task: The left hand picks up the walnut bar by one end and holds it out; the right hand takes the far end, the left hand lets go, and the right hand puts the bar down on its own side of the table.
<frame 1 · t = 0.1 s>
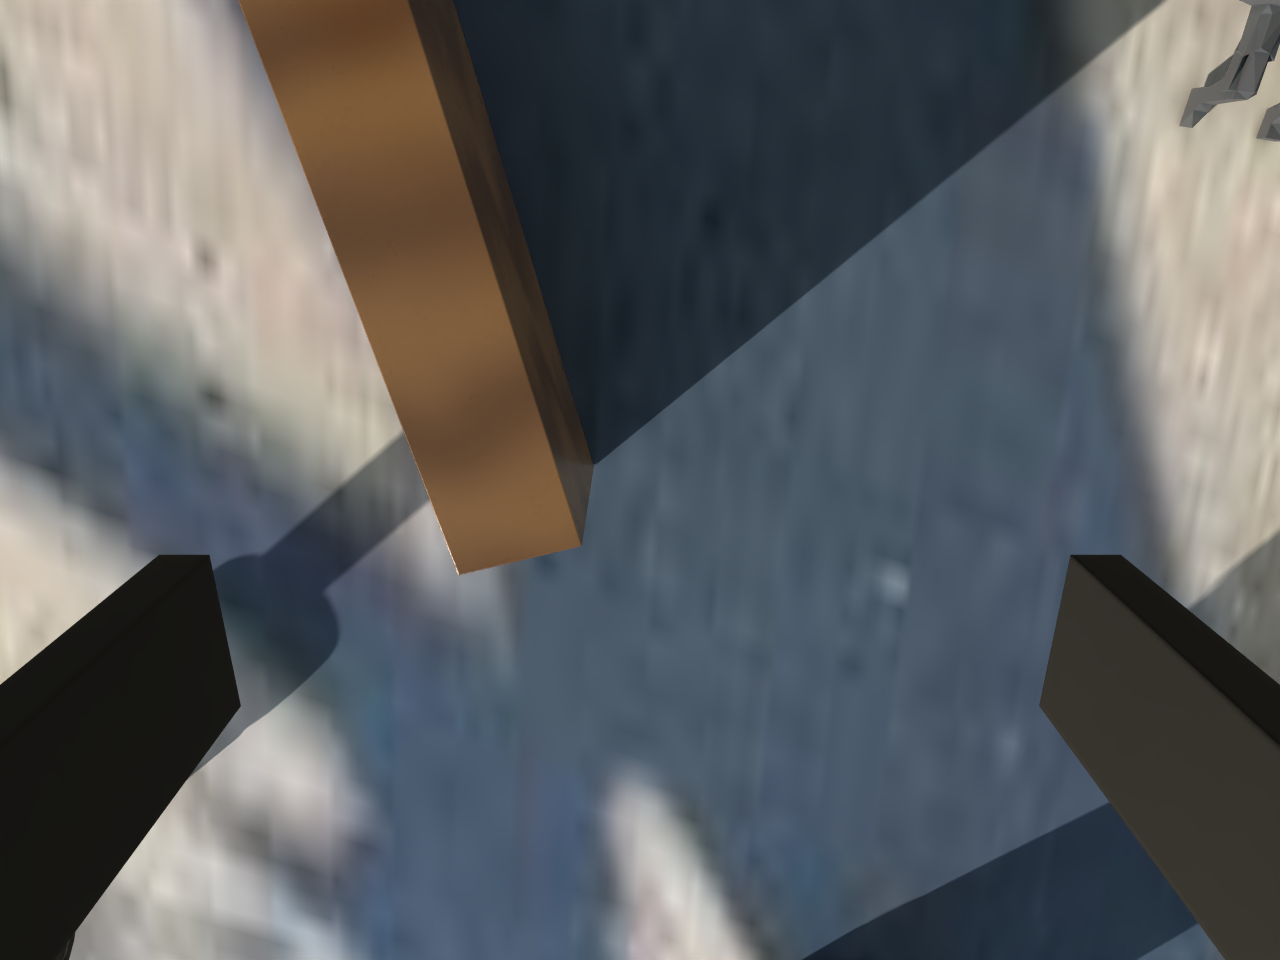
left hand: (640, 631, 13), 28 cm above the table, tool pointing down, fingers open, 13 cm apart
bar: (460, 222, 37), on the table
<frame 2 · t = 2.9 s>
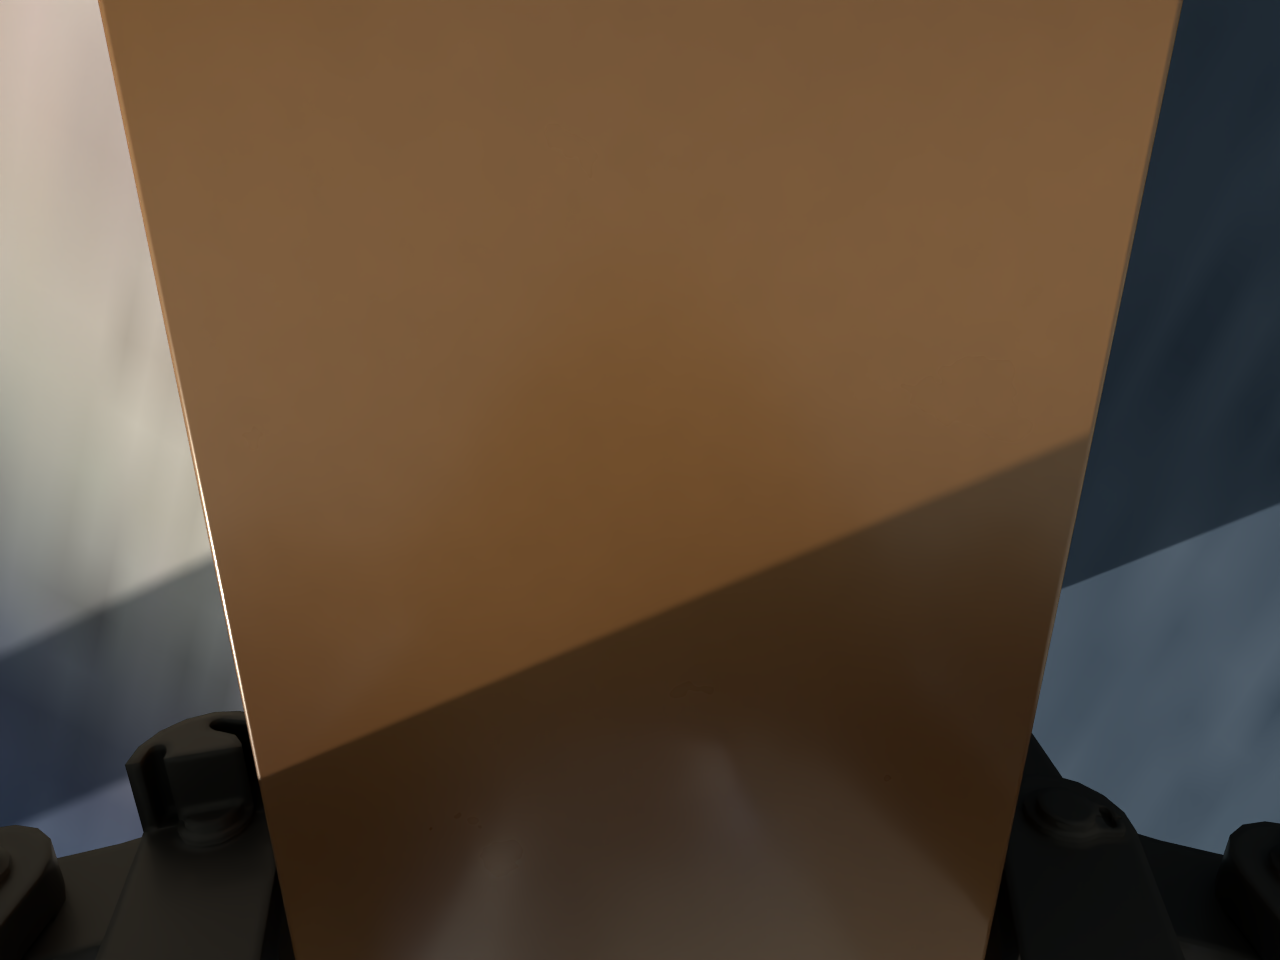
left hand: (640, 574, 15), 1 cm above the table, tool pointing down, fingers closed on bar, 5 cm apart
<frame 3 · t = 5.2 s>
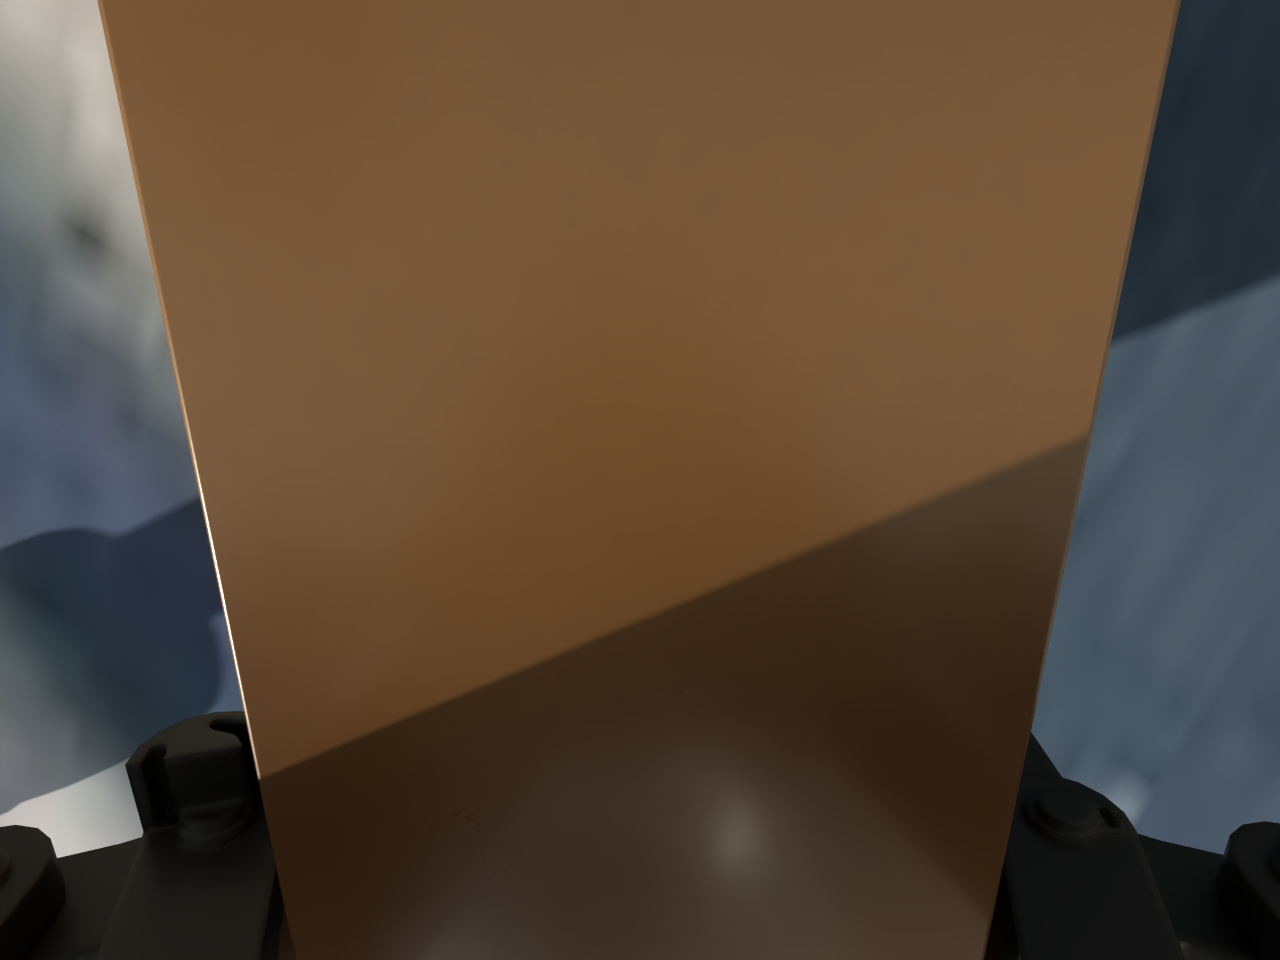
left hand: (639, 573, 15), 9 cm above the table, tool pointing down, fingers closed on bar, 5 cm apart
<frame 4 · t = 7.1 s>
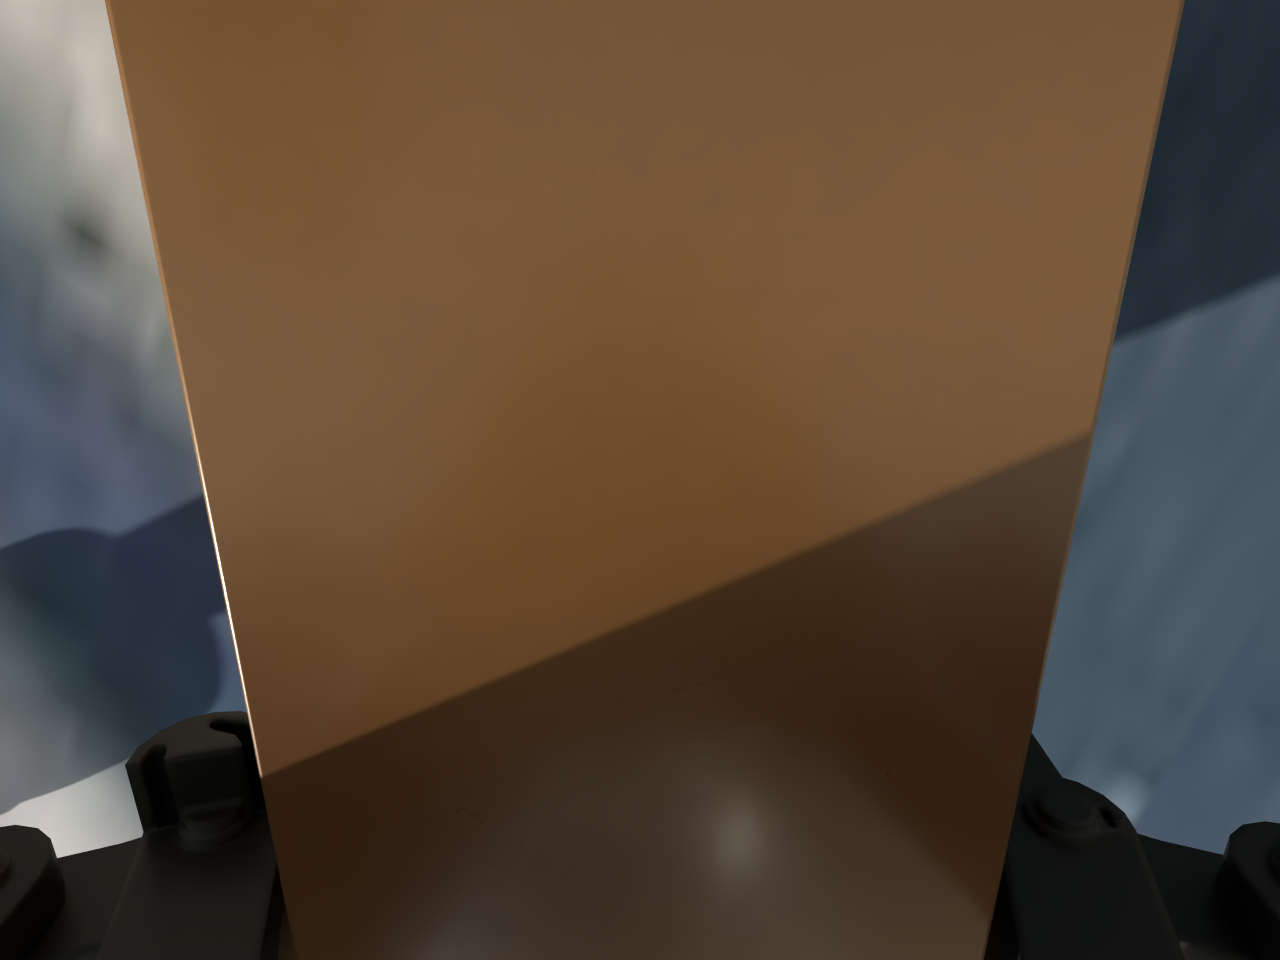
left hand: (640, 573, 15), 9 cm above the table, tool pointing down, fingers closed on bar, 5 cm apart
when the left hand's fingers open (9 cm above the table, at t = 7.7 s): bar stays where it is, held by the right hand.
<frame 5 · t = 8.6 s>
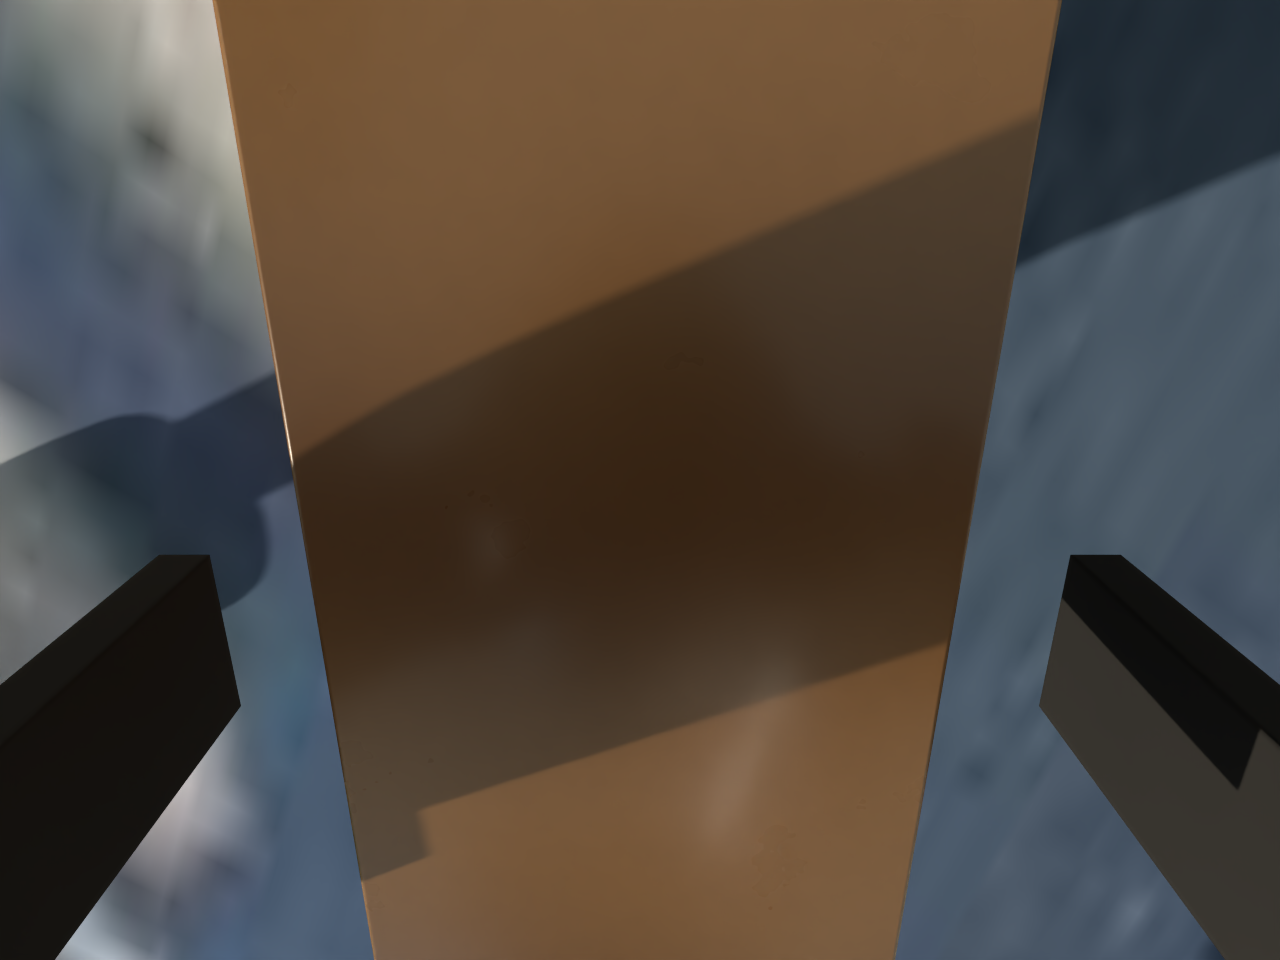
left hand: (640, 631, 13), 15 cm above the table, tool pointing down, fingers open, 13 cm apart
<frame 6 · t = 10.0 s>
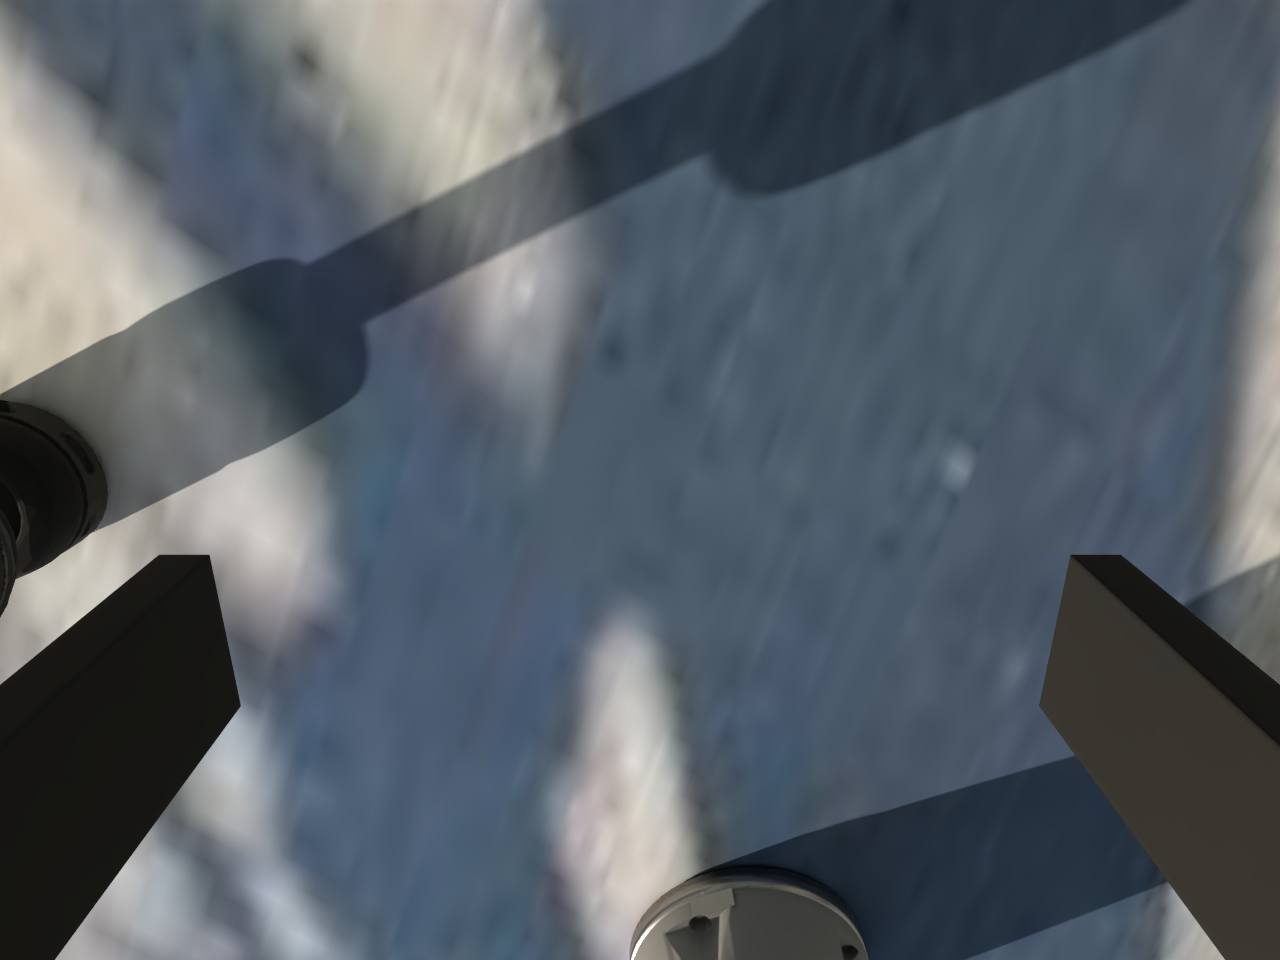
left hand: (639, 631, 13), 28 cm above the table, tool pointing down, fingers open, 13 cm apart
when the right hand's fingers open (2 cm above the table, at t = 13.1 s): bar drops 2 cm, on the table.
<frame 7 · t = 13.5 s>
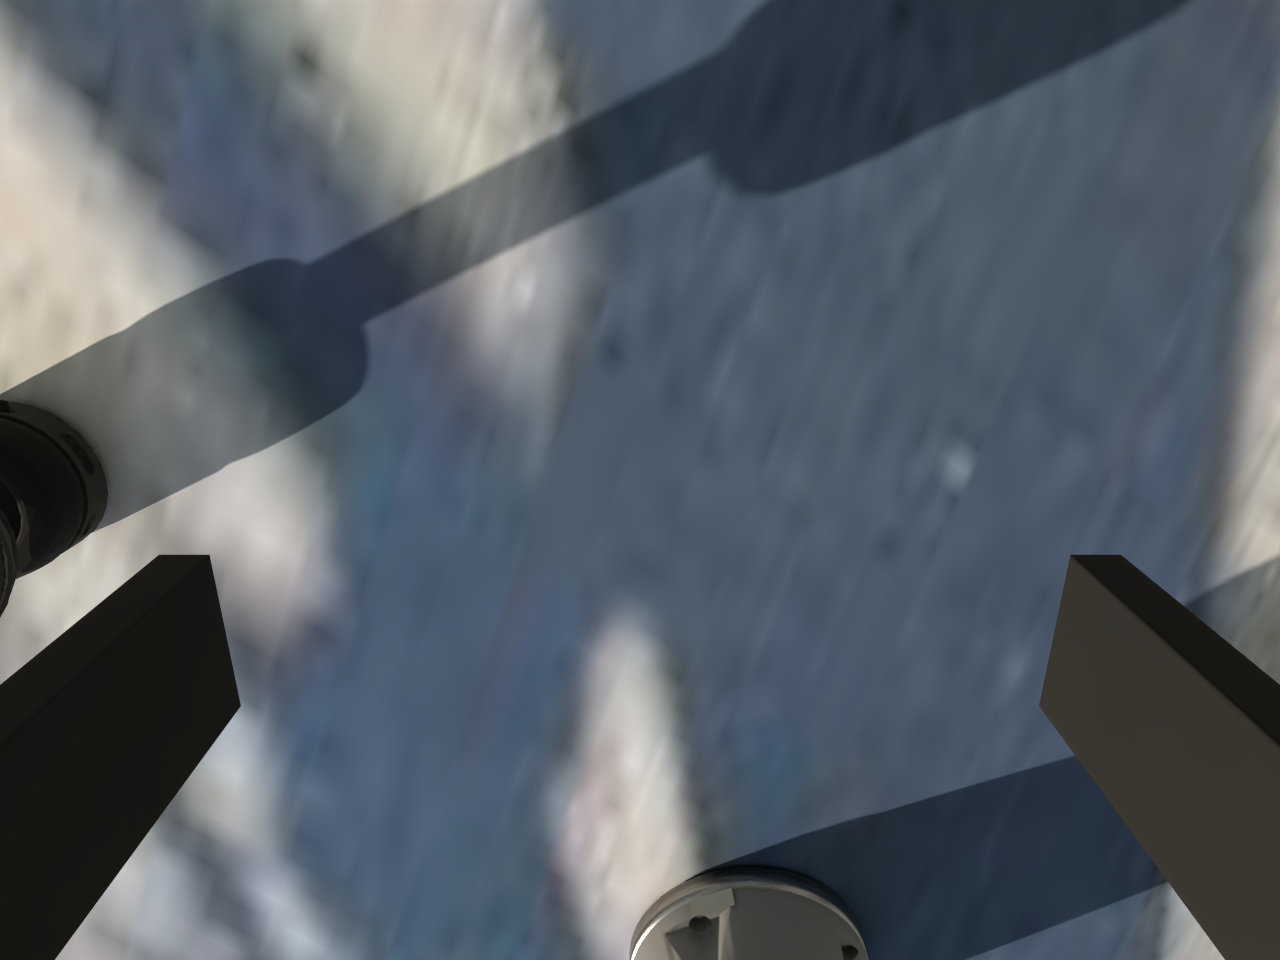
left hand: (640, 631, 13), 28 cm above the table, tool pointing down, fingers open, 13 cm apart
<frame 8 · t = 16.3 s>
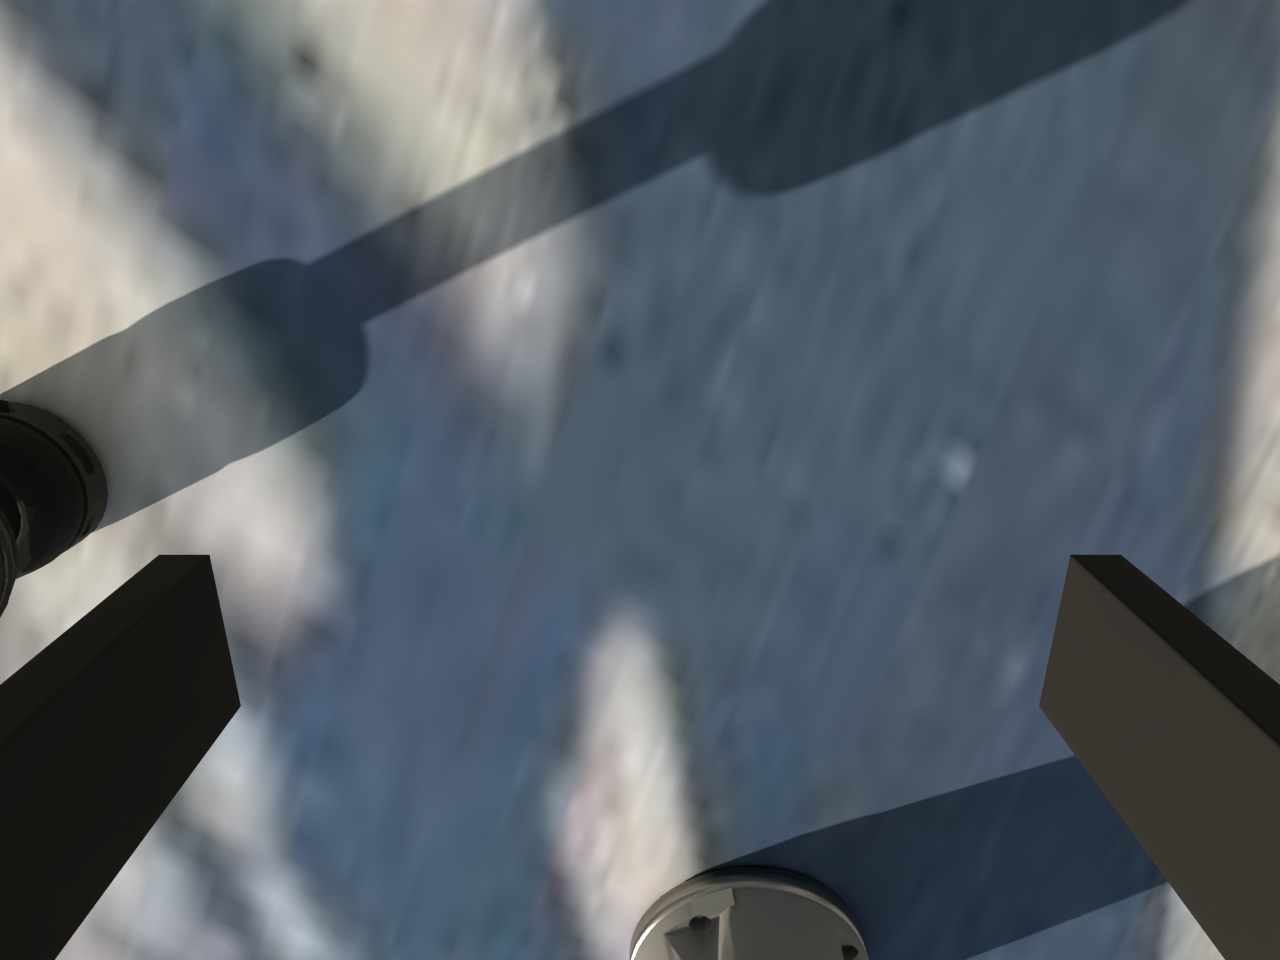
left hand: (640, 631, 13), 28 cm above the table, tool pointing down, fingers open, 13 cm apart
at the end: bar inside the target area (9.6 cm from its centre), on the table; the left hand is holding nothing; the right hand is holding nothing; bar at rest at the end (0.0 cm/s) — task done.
